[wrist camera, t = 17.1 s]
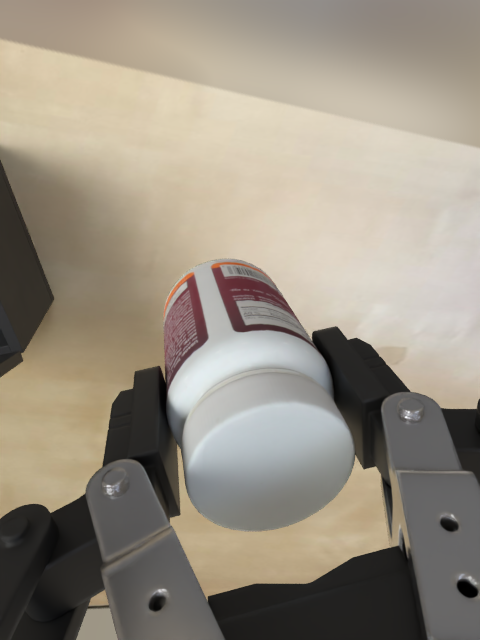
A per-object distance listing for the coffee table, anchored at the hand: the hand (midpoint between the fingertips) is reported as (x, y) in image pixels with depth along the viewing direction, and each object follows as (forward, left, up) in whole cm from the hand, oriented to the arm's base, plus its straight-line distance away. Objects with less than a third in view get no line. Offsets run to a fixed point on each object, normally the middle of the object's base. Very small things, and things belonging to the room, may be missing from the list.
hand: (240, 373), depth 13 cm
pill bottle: (0, 0, -5) cm, 5 cm away
